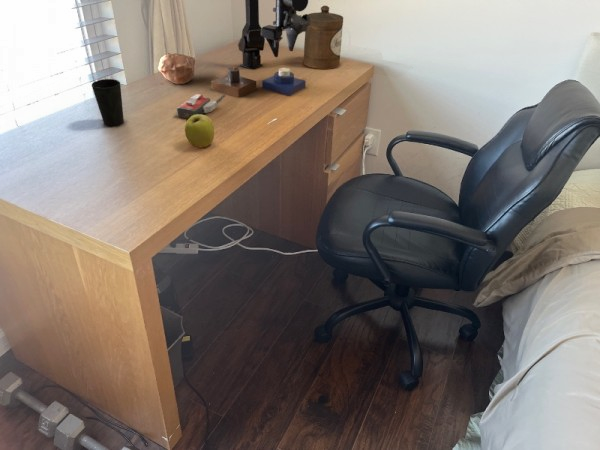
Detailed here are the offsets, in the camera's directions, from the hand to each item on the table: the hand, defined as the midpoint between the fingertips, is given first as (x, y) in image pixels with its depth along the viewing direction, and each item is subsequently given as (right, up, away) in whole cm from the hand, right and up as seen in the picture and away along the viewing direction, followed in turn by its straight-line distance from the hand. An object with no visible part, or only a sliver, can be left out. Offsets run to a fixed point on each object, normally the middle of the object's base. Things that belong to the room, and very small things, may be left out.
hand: (283, 53), depth 164 cm
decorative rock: (-38, -7, +9) cm, 40 cm away
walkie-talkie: (-26, -22, -11) cm, 35 cm away
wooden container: (+14, +7, +32) cm, 36 cm away
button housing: (0, -10, +7) cm, 12 cm away
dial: (-18, -9, +3) cm, 20 cm away
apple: (-22, -37, -31) cm, 53 cm away
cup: (-50, -29, -22) cm, 62 cm away
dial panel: (-18, -11, +4) cm, 21 cm away
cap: (0, -6, +4) cm, 8 cm away
